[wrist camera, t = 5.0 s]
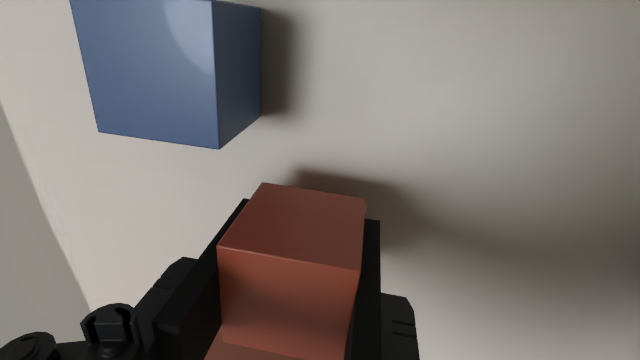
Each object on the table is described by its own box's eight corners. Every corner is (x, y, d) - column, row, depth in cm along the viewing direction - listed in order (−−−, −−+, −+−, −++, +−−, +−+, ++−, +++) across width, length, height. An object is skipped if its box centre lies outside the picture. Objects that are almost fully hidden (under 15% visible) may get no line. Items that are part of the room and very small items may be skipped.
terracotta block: (261, 181, 14) (215, 245, 10) (366, 197, 14) (361, 271, 10) (260, 262, 16) (221, 342, 12) (351, 279, 16) (342, 368, 12)
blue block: (157, -3, 13) (65, -15, 9) (261, 7, 13) (212, -1, 9) (169, 104, 15) (98, 132, 11) (260, 116, 15) (219, 150, 11)
